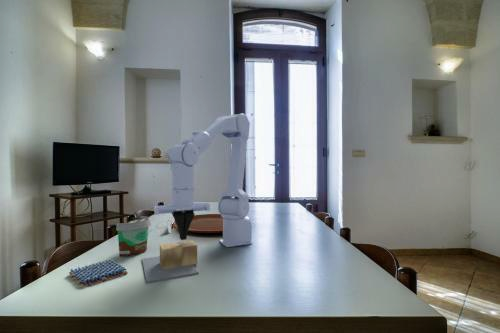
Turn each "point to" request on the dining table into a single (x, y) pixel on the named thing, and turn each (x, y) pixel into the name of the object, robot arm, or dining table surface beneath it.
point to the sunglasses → (168, 225)
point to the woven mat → (97, 273)
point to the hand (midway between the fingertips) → (183, 238)
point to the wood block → (178, 254)
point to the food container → (133, 236)
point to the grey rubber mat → (164, 270)
